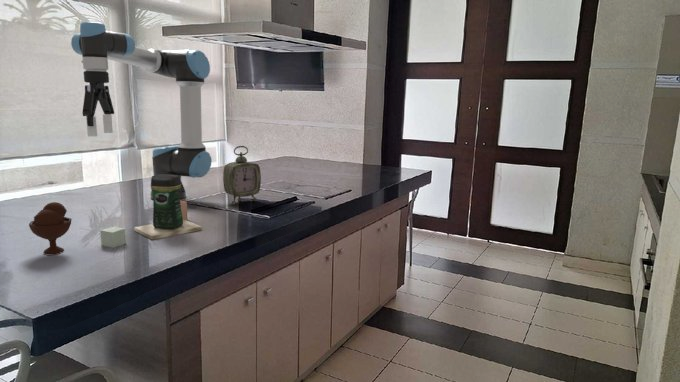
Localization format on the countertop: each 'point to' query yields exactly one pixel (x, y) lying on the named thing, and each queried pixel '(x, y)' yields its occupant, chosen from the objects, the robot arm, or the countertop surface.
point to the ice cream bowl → (51, 225)
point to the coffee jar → (166, 201)
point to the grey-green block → (113, 236)
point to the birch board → (166, 230)
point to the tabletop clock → (241, 177)
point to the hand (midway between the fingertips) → (100, 134)
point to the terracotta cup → (184, 209)
